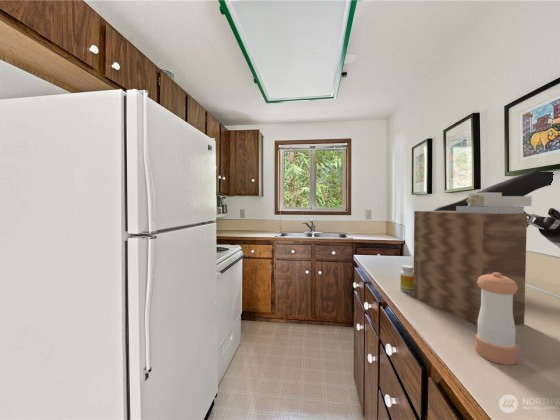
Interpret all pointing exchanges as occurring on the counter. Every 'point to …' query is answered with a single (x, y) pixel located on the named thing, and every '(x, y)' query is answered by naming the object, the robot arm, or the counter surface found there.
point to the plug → (497, 200)
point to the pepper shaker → (496, 319)
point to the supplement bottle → (407, 278)
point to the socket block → (490, 209)
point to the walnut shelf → (467, 259)
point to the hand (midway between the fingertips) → (532, 210)
